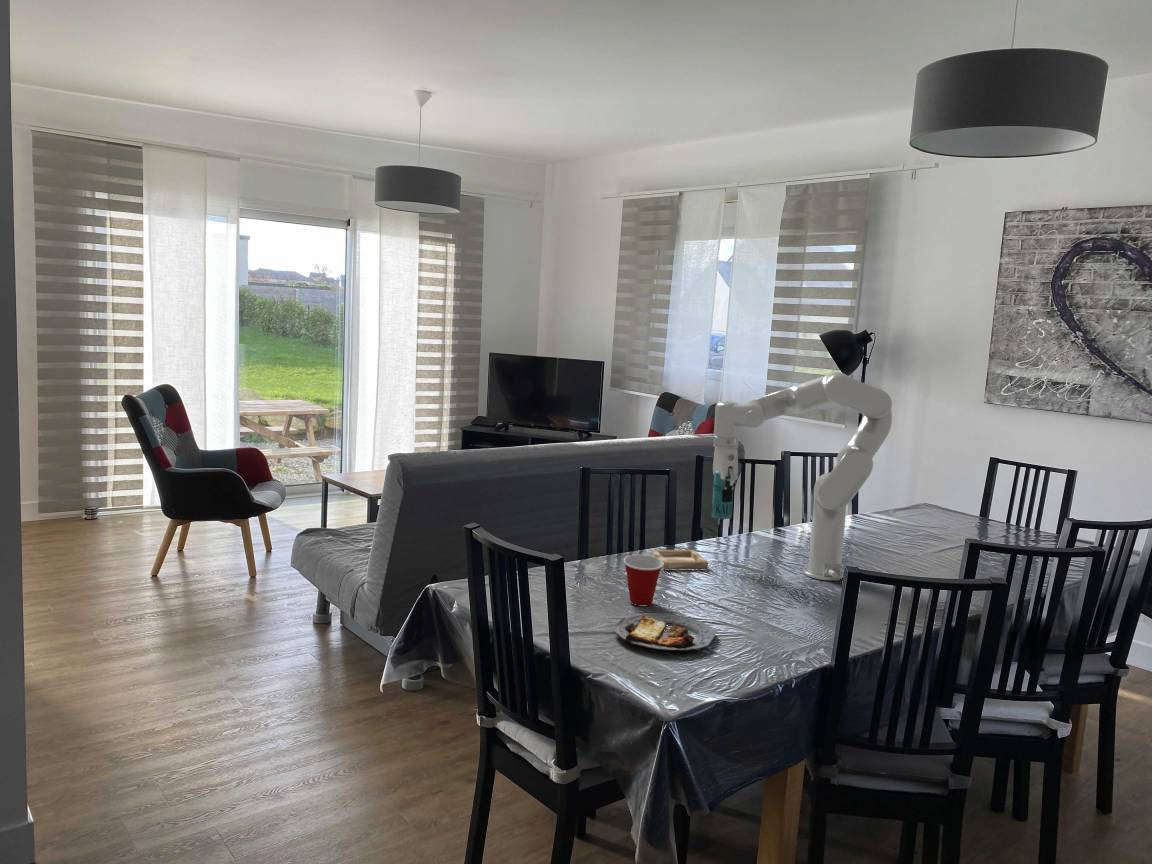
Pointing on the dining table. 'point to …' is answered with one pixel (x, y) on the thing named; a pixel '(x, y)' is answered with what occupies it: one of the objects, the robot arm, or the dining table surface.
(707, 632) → the food plate
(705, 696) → the dining table surface
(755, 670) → the dining table surface
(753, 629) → the dining table surface
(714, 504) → the beverage bottle
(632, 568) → the plastic cup
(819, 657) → the dining table surface
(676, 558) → the tray
